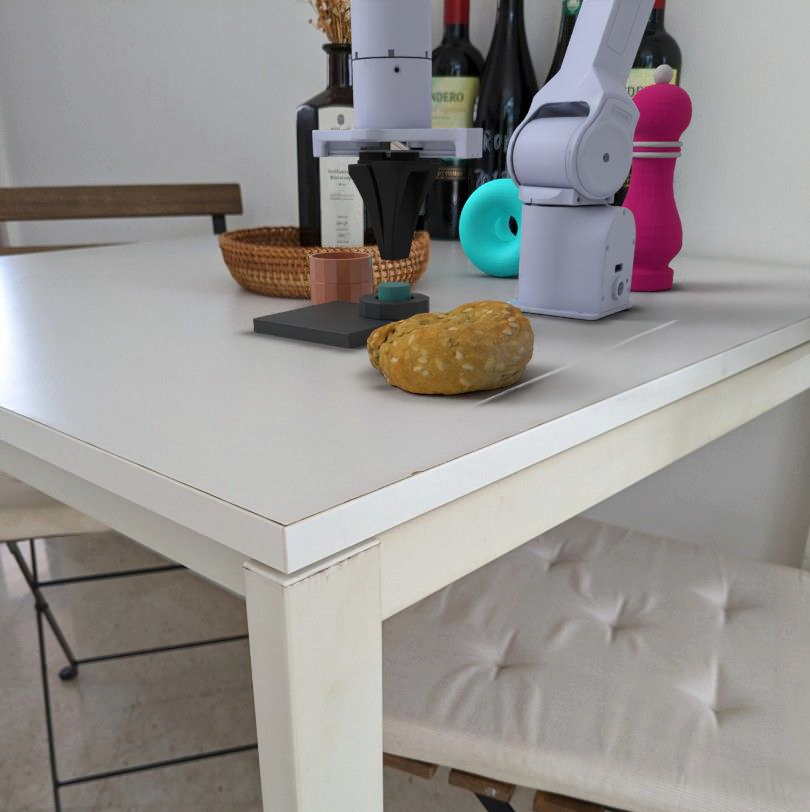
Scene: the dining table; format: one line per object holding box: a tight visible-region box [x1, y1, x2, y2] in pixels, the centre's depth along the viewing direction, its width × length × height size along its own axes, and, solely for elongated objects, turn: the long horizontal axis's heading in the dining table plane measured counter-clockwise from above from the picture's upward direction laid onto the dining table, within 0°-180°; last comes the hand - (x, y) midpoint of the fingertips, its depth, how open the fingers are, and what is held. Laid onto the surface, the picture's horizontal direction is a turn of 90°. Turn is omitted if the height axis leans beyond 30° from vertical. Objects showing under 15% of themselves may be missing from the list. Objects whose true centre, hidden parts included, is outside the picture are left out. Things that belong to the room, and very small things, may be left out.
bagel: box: [366, 299, 535, 396], centre depth 54 cm, size 10×11×5 cm
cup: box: [308, 251, 374, 306], centre depth 78 cm, size 6×6×4 cm
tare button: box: [377, 281, 412, 301], centre depth 68 cm, size 3×3×1 cm
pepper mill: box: [621, 64, 693, 292], centre depth 84 cm, size 7×7×20 cm
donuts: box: [458, 177, 526, 278], centre depth 95 cm, size 10×10×10 cm
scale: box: [252, 291, 430, 350], centre depth 68 cm, size 11×11×2 cm
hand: (394, 259), depth 67 cm, fingers closed
